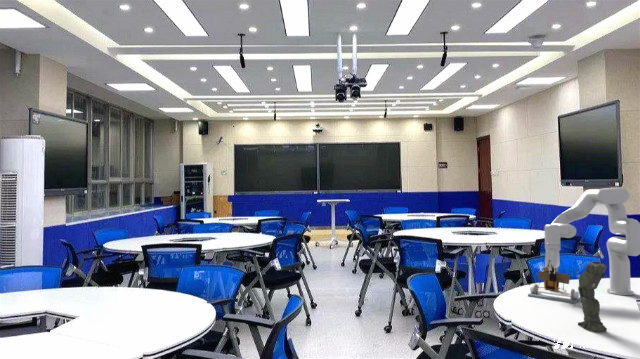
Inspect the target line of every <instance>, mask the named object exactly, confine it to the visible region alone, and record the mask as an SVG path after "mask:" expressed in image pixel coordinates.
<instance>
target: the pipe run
mask: <svg viewBox="0 0 640 359" xmlns="http://www.w3.org/2000/svg"><path fill="white" fill-rule="evenodd" d="M538 286H539V284H537V283H534V285H532V284H531V285H530V286H529V287H530V293H528V294H527V297H531V298H537V299H543V300H551V301H557V302H563V303H568V302H569V304H574V303H575V304H576V302H577V303H578V302H579V301H581V300H580V295H579V291H575V289H574V288H572V289H570V295H567V294H560V293H553V292H546V291H540V290H539V288H538Z"/></svg>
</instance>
